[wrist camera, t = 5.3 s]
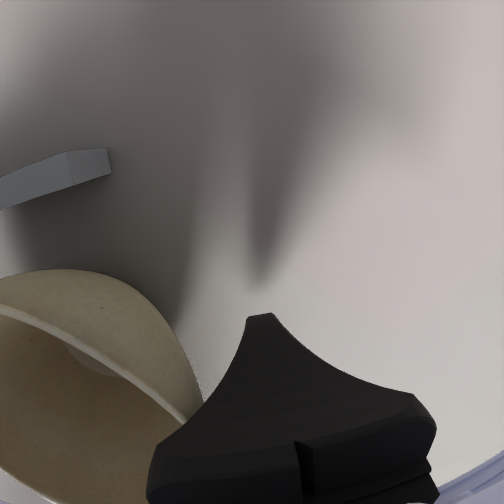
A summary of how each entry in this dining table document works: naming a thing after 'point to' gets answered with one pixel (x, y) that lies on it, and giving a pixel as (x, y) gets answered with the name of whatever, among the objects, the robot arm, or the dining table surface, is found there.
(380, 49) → the dining table surface
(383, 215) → the dining table surface
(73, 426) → the flower pot
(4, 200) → the bracket
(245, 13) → the dining table surface
